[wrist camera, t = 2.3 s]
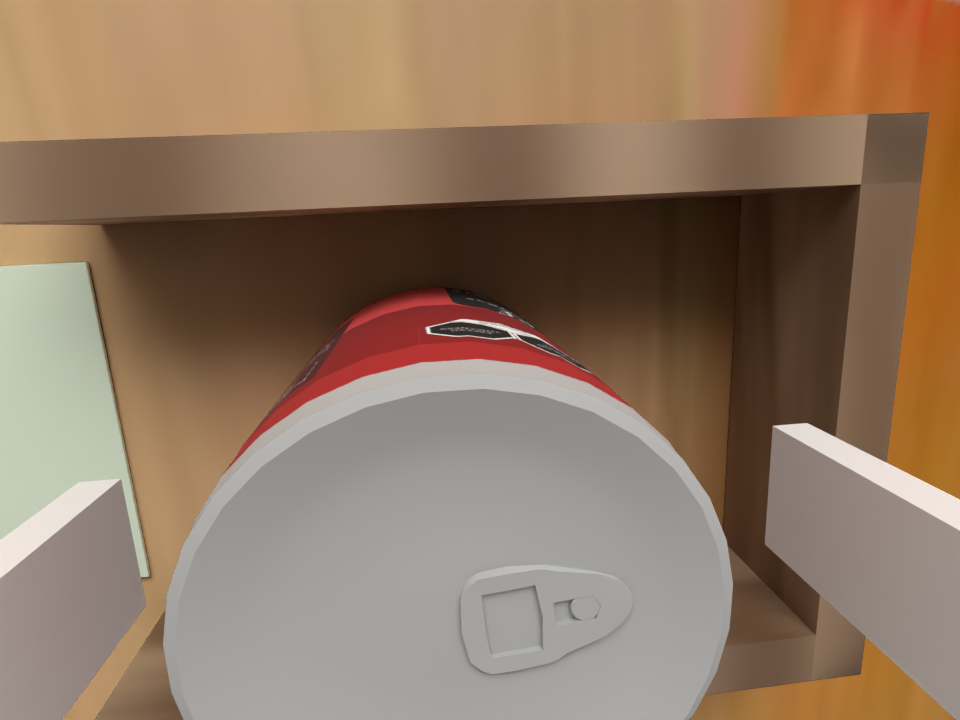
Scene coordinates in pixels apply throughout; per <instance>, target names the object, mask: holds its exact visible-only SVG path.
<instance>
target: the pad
mask: <svg viewBox="0 0 960 720" xmlns="http://www.w3.org/2000/svg"><path fill="white" fill-rule="evenodd" d="M112 479H121V481H122V486H123V491H124V496H125V501H126V506H127V511H128V516H129V521H130V526H131V531H132V536H133V541H134V546H135V551H136V556H137V561H138V566H139V571H140V576H141V577H149V576H150V575H151V574H150V569H149V564H148V559H147V554H146V549H145V544H144V539H143V534H142V529H141V524H140V519H139V514H138V509H137V504H136V499H135V494H134V489H133V484H132V479H131V474H130V469H129V464H128V459H127V454H126V449H125V444H124V439H123V434H122V429H121V424H120V419H119V414H118V409H117V404H116V399H115V394H114V389H113V384H112V379H111V374H110V369H109V364H108V359H107V354H106V349H105V344H104V339H103V334H102V329H101V324H100V319H99V314H98V309H97V304H96V299H95V294H94V289H93V284H92V279H91V274H90V269H89V264H88V262H73V263H54V264H35V265H15V266H0V540H1V539H2V538H4V537H5V536H6V535H8V534H9V533H11V532H12V531H13V530H15V529H16V528H17V527H19V526H20V525H21V524H23V523H24V522H25V521H27V520H28V519H30V518H31V517H32V516H34V515H35V514H36V513H38V512H39V511H40V510H42V509H43V508H45V507H46V506H47V505H49V504H50V503H51V502H53V501H54V500H55V499H57V498H58V497H60V496H61V495H62V494H64V493H65V492H66V491H68V490H69V489H70V488H72V487H73V486H74V485H76V484H77V483H79V482H87V481H99V480H112Z"/></svg>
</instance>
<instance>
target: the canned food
mask: <svg viewBox="0 0 960 720" xmlns="http://www.w3.org/2000/svg"><path fill="white" fill-rule="evenodd" d="M732 592H733V580H732V573H731V567H730V560H729V553H728V546H727V540H726V537H725V535H724V532H723V530H722V527H721V525H720V522H719V520H718V517H717V515H716V512H715V510H714V507H713V505H712V502H711V500H710V497H709V496H708V494H707V493H706V492H705V490H704V489H703V487H702V486H701V484H700V483H699V482H698V480H697V479H696V477H695V476H694V475H693V473H692V472H691V470H690V469H689V467H688V466H687V465H686V463H685V462H684V460H683V459H682V458H681V457H680V456H679V455H678V454H677V452H676V451H675V449H674V448H673V447H672V445H671V444H670V442H669V441H668V440H667V439H666V438H665V437H664V436H663V435H661V434H660V433H659V432H658V431H657V430H656V429H655V428H654V427H653V426H651V425H650V424H649V423H648V422H647V421H646V420H645V419H644V418H643V417H641V416H640V415H639V414H638V413H637V412H636V411H635V410H634V409H633V408H632V407H630V406H629V405H628V404H627V403H626V402H625V401H624V400H623V399H622V398H621V397H619V396H618V395H617V394H616V393H615V392H614V391H613V390H612V389H611V388H609V387H608V386H607V385H606V384H605V383H603V382H602V381H601V380H600V379H598V378H597V377H596V376H595V375H593V374H592V373H591V372H590V371H588V370H587V369H586V368H585V367H583V366H582V365H581V364H580V363H578V362H577V361H576V360H575V359H573V358H572V357H571V356H570V355H568V354H567V353H566V352H565V351H563V350H562V349H561V348H560V347H558V346H557V345H556V344H555V343H553V342H552V341H551V340H550V339H548V338H547V337H546V336H545V335H543V334H542V333H541V332H540V331H538V330H537V329H536V328H535V327H533V326H532V325H531V324H530V323H528V322H527V321H526V320H525V319H523V318H522V317H521V316H520V315H518V314H517V313H516V312H514V311H513V310H511V309H509V308H508V307H506V306H504V305H502V304H501V303H499V302H497V301H496V300H494V299H491V298H488V297H485V296H482V295H479V294H476V293H473V292H471V291H465V290H458V289H451V288H444V287H441V288H420V289H413V290H409V291H404V292H400V293H396V294H392V295H389V296H387V297H384V298H382V299H380V300H378V301H375V302H373V303H371V304H369V305H367V306H365V307H363V308H362V309H360V310H359V311H358V312H356V313H355V314H353V315H352V316H351V317H349V318H348V319H346V320H345V321H344V322H343V323H342V324H341V325H340V326H339V327H338V328H337V329H336V330H335V331H334V332H333V333H332V334H331V335H330V336H329V338H328V339H327V340H326V341H325V342H324V343H323V345H322V346H321V347H320V348H319V350H318V351H317V352H316V353H315V355H314V356H313V357H312V359H311V360H310V361H309V362H308V364H307V365H306V366H305V367H304V369H303V370H302V371H301V373H300V374H299V375H298V376H297V378H296V379H295V380H294V381H293V383H292V384H291V385H290V386H289V388H288V389H287V390H286V392H285V393H284V394H283V395H282V397H281V398H280V399H279V400H278V402H277V403H276V404H275V406H274V407H273V408H272V409H271V411H270V412H269V413H268V414H267V416H266V417H265V418H264V419H263V421H262V422H261V423H260V425H259V426H258V427H257V428H256V430H255V431H254V432H253V433H252V435H251V436H250V437H249V439H248V440H247V441H246V442H245V444H244V445H243V446H242V448H241V450H240V451H239V453H238V455H237V456H236V458H235V459H234V460H233V462H232V463H231V464H230V466H229V467H228V468H227V470H226V471H225V472H224V474H223V475H222V476H221V478H220V480H219V481H218V483H217V485H216V486H215V488H214V489H213V491H212V493H211V494H210V496H209V498H208V499H207V501H206V503H205V504H204V506H203V508H202V509H201V511H200V513H199V514H198V516H197V517H196V519H195V521H194V523H193V526H192V530H191V533H190V534H189V536H188V538H187V539H186V541H185V543H184V544H183V547H182V550H181V553H180V556H179V559H178V562H177V565H176V568H175V571H174V574H173V577H172V580H171V583H170V586H169V590H168V593H167V598H166V611H165V625H164V638H163V648H164V654H165V659H166V665H167V671H168V676H169V682H170V688H171V693H172V695H173V697H174V700H175V702H176V704H177V706H178V708H179V711H180V713H181V715H182V717H183V720H690V718H691V717H692V716H693V714H694V713H695V712H696V710H697V708H698V706H699V704H700V702H701V700H702V698H703V697H704V695H705V693H706V691H707V689H708V687H709V685H710V683H711V681H712V680H713V678H714V676H715V674H716V672H717V669H718V665H719V662H720V659H721V656H722V652H723V649H724V646H725V642H726V639H727V636H728V632H729V629H730V617H731V605H732Z"/></svg>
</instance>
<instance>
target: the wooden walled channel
mask: <svg viewBox="0 0 960 720" xmlns="http://www.w3.org/2000/svg"><path fill="white" fill-rule="evenodd" d="M928 119H929V112H927V113H896V114H864V115H833V116H802V117H770V118H739V119H707V120H676V121H645V122H613V123H582V124H550V125H519V126H488V127H456V128H425V129H394V130H362V131H331V132H299V133H268V134H237V135H205V136H174V137H143V138H111V139H80V140H48V141H17V142H0V224H44V225H105V224H127V223H149V222H170V221H192V220H214V219H236V218H258V217H280V216H302V215H324V214H345V213H367V212H389V211H411V210H433V209H455V208H477V207H498V206H520V205H542V204H564V203H586V202H608V201H630V200H651V199H673V198H695V197H717V196H739V195H741V212H740V231H739V249H738V267H737V286H736V304H735V322H734V341H733V359H732V378H731V396H730V414H729V433H728V451H727V469H726V488H725V506H724V524H723V532H724V535H725V537H726V540H727V546H728V553H729V560H730V567H731V573H732V580H733V592H732V605H731V617H730V629H729V632H728V636H727V639H726V642H725V646H724V649H723V652H722V656H721V659H720V662H719V665H718V669H717V672H716V674H715V676H714V678H713V680H712V681H711V683H710V685H709V687H708V689H707V691H706V693H705V695H711V694H718V693H726V692H733V691H741V690H748V689H755V688H763V687H770V686H778V685H785V684H792V683H800V682H807V681H815V680H822V679H829V678H837V677H844V676H852V675H859V674H861V667H862V659H863V650H864V642H865V636H864V635H863V634H862V633H861V632H860V631H859V630H858V629H857V628H856V627H855V626H853V625H852V624H851V623H850V622H849V621H848V620H847V619H846V618H845V617H844V616H843V615H841V614H840V613H839V612H838V611H837V610H836V609H835V608H834V607H833V606H832V605H831V604H829V603H828V602H827V601H826V600H825V599H824V598H823V597H822V596H821V595H820V594H819V593H817V592H816V591H815V590H814V589H813V588H812V587H811V586H810V585H809V584H808V583H807V582H805V581H804V580H803V579H802V578H801V577H800V576H799V575H798V574H797V573H796V572H795V571H794V570H792V569H791V568H790V567H789V566H788V565H787V564H786V563H785V562H784V561H783V560H782V559H780V558H779V557H778V556H777V555H776V554H775V553H774V552H773V551H772V550H771V549H770V548H768V547H767V546H766V545H765V532H766V517H767V503H768V488H769V473H770V459H771V444H772V429H773V426H777V425H789V424H801V423H808V424H810V425H812V426H814V427H816V428H818V429H820V430H822V431H824V432H826V433H828V434H830V435H832V436H834V437H836V438H838V439H840V440H842V441H844V442H846V443H848V444H850V445H852V446H854V447H856V448H858V449H860V450H862V451H864V452H866V453H868V454H870V455H872V456H874V457H876V458H878V459H880V460H882V461H884V462H887V454H888V446H889V438H890V430H891V421H892V413H893V405H894V397H895V389H896V381H897V372H898V364H899V356H900V348H901V340H902V332H903V323H904V315H905V307H906V299H907V291H908V283H909V274H910V266H911V258H912V250H913V242H914V234H915V225H916V217H917V209H918V201H919V193H920V184H921V176H922V168H923V160H924V152H925V144H926V135H927V127H928ZM165 611H166V610H165ZM165 611H164V613H163V615H162V616H161V618H160V619H159V621H158V622H157V624H156V625H155V627H154V629H153V630H152V632H151V633H150V635H149V636H148V638H147V639H146V641H145V642H144V644H143V646H142V647H141V649H140V650H139V652H138V653H137V655H136V656H135V658H134V660H133V661H132V663H131V664H130V666H129V667H128V669H127V670H126V672H125V674H124V675H123V677H122V678H121V680H120V681H119V683H118V684H117V686H116V688H115V689H114V691H113V692H112V694H111V695H110V697H109V698H108V700H107V702H106V703H105V705H104V706H103V708H102V709H101V711H100V712H99V714H98V716H97V717H96V719H95V720H183V717H182V715H181V713H180V711H179V708H178V706H177V704H176V702H175V700H174V697H173V695H172V693H171V688H170V682H169V676H168V671H167V665H166V659H165V654H164V648H163V638H164V625H165Z"/></svg>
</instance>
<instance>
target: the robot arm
mask: <svg viewBox="0 0 960 720" xmlns="http://www.w3.org/2000/svg"><path fill="white" fill-rule="evenodd" d="M765 545H766V546H767V547H768V548H770V549H771V550H772V551H773V552H774V553H775V554H776V555H777V556H778V557H779V558H780V559H782V560H783V561H784V562H785V563H786V564H787V565H788V566H789V567H790V568H791V569H792V570H794V571H795V572H796V573H797V574H798V575H799V576H800V577H801V578H802V579H803V580H804V581H805V582H807V583H808V584H809V585H810V586H811V587H812V588H813V589H814V590H815V591H816V592H817V593H819V594H820V595H821V596H822V597H823V598H824V599H825V600H826V601H827V602H828V603H829V604H831V605H832V606H833V607H834V608H835V609H836V610H837V611H838V612H839V613H840V614H841V615H843V616H844V617H845V618H846V619H847V620H848V621H849V622H850V623H851V624H852V625H853V626H855V627H856V628H857V629H858V630H859V631H860V632H861V633H862V634H863V635H864V636H865V637H866V638H868V639H869V640H870V641H871V642H872V643H873V644H874V645H875V646H876V647H877V648H878V649H880V650H881V651H882V652H883V653H884V654H885V655H886V656H887V657H888V658H889V659H890V660H892V661H893V662H894V663H895V664H896V665H897V666H898V667H899V668H900V669H901V670H902V671H904V672H905V673H906V674H907V675H908V676H909V677H910V678H911V679H912V680H913V681H914V682H915V683H917V684H918V685H919V686H920V687H921V688H922V689H923V690H924V691H925V692H926V693H927V694H929V695H930V696H931V697H932V698H933V699H934V700H935V701H936V702H937V703H938V704H939V705H941V706H942V707H943V708H944V709H945V710H946V711H947V712H948V713H949V714H950V715H951V716H953V717H954V718H955V719H956V720H960V500H959V499H957V498H956V497H954V496H952V495H950V494H948V493H946V492H944V491H942V490H940V489H938V488H936V487H934V486H932V485H930V484H928V483H926V482H924V481H922V480H920V479H918V478H916V477H914V476H912V475H910V474H908V473H906V472H904V471H902V470H900V469H898V468H896V467H894V466H892V465H890V464H888V463H886V462H884V461H882V460H880V459H878V458H876V457H874V456H872V455H870V454H868V453H866V452H864V451H862V450H860V449H858V448H856V447H854V446H852V445H850V444H848V443H846V442H844V441H842V440H840V439H838V438H836V437H834V436H832V435H830V434H828V433H826V432H824V431H822V430H820V429H818V428H816V427H814V426H812V425H810V424H808V423H801V424H789V425H777V426H773V429H772V444H771V459H770V473H769V488H768V503H767V517H766V532H765ZM145 606H146V601H145V596H144V591H143V586H142V581H141V576H140V571H139V566H138V561H137V556H136V551H135V546H134V541H133V536H132V531H131V526H130V521H129V516H128V511H127V506H126V501H125V496H124V491H123V486H122V481H121V479H112V480H99V481H87V482H79V483H77V484H76V485H74V486H73V487H72V488H70V489H69V490H68V491H66V492H65V493H64V494H62V495H61V496H60V497H58V498H57V499H55V500H54V501H53V502H51V503H50V504H49V505H47V506H46V507H45V508H43V509H42V510H40V511H39V512H38V513H36V514H35V515H34V516H32V517H31V518H30V519H28V520H27V521H25V522H24V523H23V524H21V525H20V526H19V527H17V528H16V529H15V530H13V531H12V532H11V533H9V534H8V535H6V536H5V537H4V538H2V539H1V540H0V720H62V719H63V718H64V716H65V715H66V714H67V712H68V711H69V710H70V708H71V707H72V706H73V704H74V703H75V701H76V700H77V699H78V697H79V696H80V695H81V693H82V692H83V691H84V689H85V688H86V687H87V685H88V684H89V682H90V681H91V680H92V678H93V677H94V676H95V674H96V673H97V672H98V670H99V669H100V667H101V666H102V665H103V663H104V662H105V661H106V659H107V658H108V657H109V655H110V654H111V653H112V651H113V650H114V648H115V647H116V646H117V644H118V643H119V642H120V640H121V639H122V638H123V636H124V635H125V634H126V632H127V631H128V629H129V628H130V627H131V625H132V624H133V623H134V621H135V620H136V619H137V617H138V616H139V615H140V613H141V612H142V610H143V609H144V608H145Z"/></svg>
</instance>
